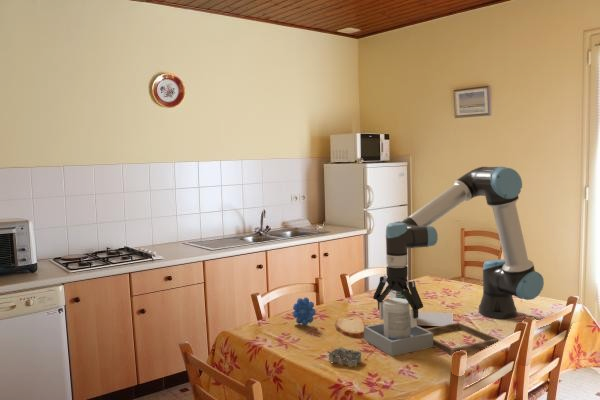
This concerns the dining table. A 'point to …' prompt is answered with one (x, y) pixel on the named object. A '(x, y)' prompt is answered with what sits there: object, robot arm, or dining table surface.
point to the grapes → (304, 311)
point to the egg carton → (345, 356)
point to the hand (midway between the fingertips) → (397, 322)
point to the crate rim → (471, 347)
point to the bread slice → (351, 326)
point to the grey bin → (413, 343)
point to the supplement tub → (396, 318)
